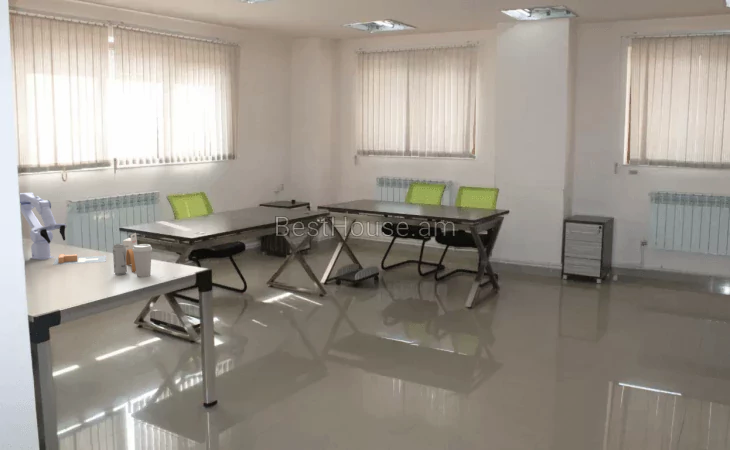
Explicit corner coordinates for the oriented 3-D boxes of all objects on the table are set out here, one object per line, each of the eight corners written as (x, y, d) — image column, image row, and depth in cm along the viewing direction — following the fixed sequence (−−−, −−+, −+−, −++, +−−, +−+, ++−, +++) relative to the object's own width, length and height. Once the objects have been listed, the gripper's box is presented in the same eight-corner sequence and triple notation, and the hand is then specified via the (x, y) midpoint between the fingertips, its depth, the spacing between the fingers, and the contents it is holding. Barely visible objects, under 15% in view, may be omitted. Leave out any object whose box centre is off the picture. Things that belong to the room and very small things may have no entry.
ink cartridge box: (129, 258, 368) (128, 232, 366) (138, 258, 368) (136, 232, 366) (123, 261, 359) (122, 234, 357) (132, 261, 359) (131, 235, 357)
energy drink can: (125, 275, 327) (123, 245, 325) (112, 275, 327) (111, 245, 325) (128, 272, 333) (126, 243, 331) (116, 272, 333) (114, 243, 331)
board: (52, 265, 347) (52, 265, 347) (55, 259, 364) (55, 258, 364) (105, 262, 356) (105, 261, 356) (106, 256, 373) (106, 255, 373)
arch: (131, 272, 334) (130, 253, 332) (126, 265, 352) (125, 246, 350) (143, 271, 337) (142, 252, 335) (137, 264, 354) (136, 245, 353)
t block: (58, 263, 352) (58, 257, 351) (59, 259, 361) (59, 254, 361) (76, 262, 355) (76, 256, 354) (77, 258, 364) (77, 253, 364)
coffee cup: (157, 274, 330) (156, 244, 327) (145, 278, 321) (144, 248, 318) (141, 272, 333) (140, 243, 331) (129, 276, 324) (127, 246, 322)
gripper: (35, 218, 349) (43, 240, 345) (63, 213, 358) (72, 234, 354) (33, 225, 354) (41, 246, 350) (61, 220, 363) (70, 240, 359)
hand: (57, 241), depth 352 cm, fingers open, 7 cm apart
